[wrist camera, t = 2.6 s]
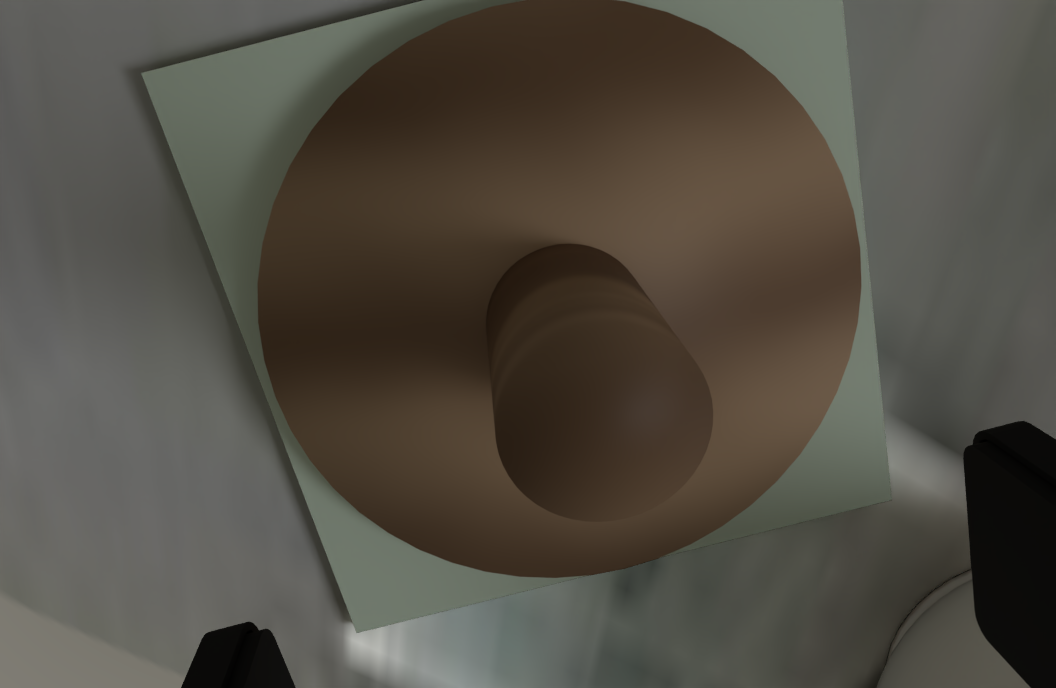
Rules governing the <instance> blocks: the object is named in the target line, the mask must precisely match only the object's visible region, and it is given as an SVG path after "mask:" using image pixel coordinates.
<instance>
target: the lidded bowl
mask: <svg viewBox="0 0 1056 688" xmlns="http://www.w3.org/2000/svg"><path fill="white" fill-rule="evenodd" d="M877 688H1030V687H1029V685H1028V684H1027V683H1026V682H1025V681H1024V680H1023V679H1022V678H1021V677H1020V676H1019V675H1018V674H1017V672H1016V671H1015V670H1014V669H1013V668H1012V667H1011V666H1010V665H1009V664H1008V663H1007V662H1006V661H1005V659H1004V658H1003V657H1002V656H1001V655H1000V654H999V653H998V652H997V651H996V650H995V649H994V648H993V647H992V645H991V644H990V643H989V642H988V641H987V640H986V638H985V637H984V635H983V633H982V632H981V630H980V628H979V625H978V623H977V620H976V616H975V610H974V596H973V582H972V570H969V571H966V572H964V573H962V574H960V575H958V576H956V577H954V578H952V579H950V580H948V581H947V582H945V583H944V584H942V585H941V586H939V587H938V588H937V589H935V590H934V591H932V592H931V593H930V594H929V595H928V596H927V597H925V598H924V599H923V600H922V601H921V602H920V603H919V604H918V605H917V606H916V607H915V608H914V609H913V610H912V612H911V613H910V614H909V615H908V616H907V618H906V619H905V621H904V622H903V623H902V625H901V626H900V628H899V629H898V631H897V633H896V636H895V638H894V640H893V642H892V644H891V647H890V651H889V654H888V657H887V664H886V666H885V668H884V670H883V672H882V675H881V677H880V679H879V682H878V685H877Z"/></svg>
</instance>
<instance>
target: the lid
mask: <svg viewBox="0 0 1056 688" xmlns="http://www.w3.org/2000/svg"><path fill="white" fill-rule="evenodd" d="M257 284H258V324H259V331H260V337H261V344H262V350H263V356H264V361H265V365H266V368H267V371H268V375H269V378H270V381H271V384H272V388H273V391H274V394H275V397H276V399H277V401H278V404H279V406H280V408H281V410H282V412H283V414H284V417H285V419H286V421H287V423H288V425H289V427H290V430H291V431H292V433H293V434H294V436H295V438H296V439H297V441H298V442H299V444H300V445H301V447H302V449H303V450H304V452H305V453H306V455H307V456H308V458H309V460H310V461H311V462H312V463H313V465H314V466H315V467H316V468H317V469H318V471H319V472H320V473H321V474H322V475H323V477H324V478H325V479H326V480H327V481H328V483H329V484H330V485H331V486H332V487H333V488H334V489H335V490H336V491H337V492H338V493H339V494H340V495H341V496H342V497H343V498H344V499H346V500H347V501H348V502H349V503H350V504H351V505H352V506H353V507H354V508H355V509H356V510H357V511H358V512H360V513H361V514H362V515H364V516H365V517H367V518H368V519H369V520H371V521H372V522H374V523H375V524H376V525H378V526H379V527H381V528H382V529H383V530H385V531H386V532H388V533H389V534H391V535H393V536H395V537H397V538H398V539H400V540H402V541H404V542H406V543H408V544H410V545H411V546H413V547H415V548H417V549H419V550H421V551H424V552H426V553H429V554H431V555H434V556H436V557H439V558H441V559H444V560H446V561H449V562H451V563H455V564H459V565H462V566H466V567H470V568H474V569H477V570H481V571H485V572H491V573H498V574H504V575H511V576H518V577H540V578H562V577H574V576H587V575H594V574H599V573H605V572H610V571H615V570H620V569H625V568H629V567H632V566H635V565H638V564H642V563H645V562H648V561H651V560H655V559H658V558H660V557H663V556H665V555H667V554H670V553H672V552H674V551H676V550H679V549H681V548H683V547H686V546H688V545H690V544H692V543H694V542H696V541H697V540H699V539H701V538H703V537H704V536H706V535H708V534H710V533H711V532H713V531H715V530H717V529H718V528H720V527H722V526H723V525H725V524H726V523H727V522H729V521H730V520H731V519H733V518H734V517H736V516H737V515H738V514H740V513H741V512H742V511H744V510H745V509H747V508H748V507H749V506H751V505H752V504H753V503H754V502H755V501H756V500H757V499H758V498H759V497H760V496H761V495H763V494H764V493H765V492H766V491H767V490H768V489H769V488H770V487H771V486H772V485H773V484H775V483H776V482H777V481H778V479H779V478H780V477H781V476H782V475H783V474H784V473H785V471H786V470H787V469H788V468H789V467H790V466H791V464H792V463H793V462H794V461H795V460H796V459H797V458H798V456H799V455H800V454H801V452H802V451H803V449H804V448H805V447H806V445H807V444H808V442H809V441H810V439H811V438H812V436H813V435H814V433H815V432H816V430H817V429H818V427H819V426H820V424H821V422H822V420H823V419H824V417H825V415H826V413H827V411H828V409H829V407H830V405H831V403H832V401H833V399H834V397H835V395H836V393H837V391H838V388H839V386H840V383H841V380H842V377H843V375H844V372H845V369H846V367H847V364H848V361H849V359H850V354H851V350H852V346H853V341H854V337H855V333H856V329H857V324H858V316H859V306H860V296H861V256H860V244H859V238H858V232H857V227H856V221H855V215H854V210H853V207H852V204H851V201H850V198H849V194H848V191H847V188H846V185H845V182H844V179H843V176H842V173H841V171H840V169H839V167H838V165H837V163H836V161H835V159H834V157H833V155H832V153H831V150H830V148H829V146H828V144H827V142H826V140H825V138H824V137H823V135H822V134H821V132H820V131H819V130H818V128H817V127H816V125H815V124H814V122H813V121H812V119H811V118H810V116H809V115H808V113H807V112H806V110H805V109H804V107H803V106H802V105H801V104H800V103H799V102H798V100H797V99H796V98H795V97H794V96H793V95H792V94H791V93H790V92H789V91H788V90H787V88H786V87H785V86H784V85H783V84H782V83H781V82H780V81H779V80H778V79H777V78H776V76H774V75H773V74H772V73H771V72H770V71H768V70H767V69H766V68H765V67H763V66H762V65H761V64H760V63H758V62H757V61H756V60H755V59H754V58H752V57H751V56H750V55H749V54H747V53H746V52H745V51H744V50H742V49H741V48H739V47H737V46H736V45H734V44H732V43H731V42H729V41H727V40H726V39H724V38H722V37H720V36H719V35H717V34H715V33H714V32H712V31H710V30H709V29H707V28H705V27H702V26H700V25H697V24H695V23H693V22H690V21H688V20H685V19H683V18H681V17H678V16H676V15H673V14H671V13H668V12H665V11H661V10H657V9H653V8H649V7H646V6H642V5H638V4H634V3H630V2H626V1H618V0H525V1H519V2H514V3H508V4H503V5H497V6H492V7H489V8H486V9H483V10H480V11H477V12H474V13H471V14H468V15H465V16H462V17H459V18H456V19H453V20H450V21H447V22H445V23H443V24H441V25H439V26H437V27H435V28H433V29H431V30H429V31H427V32H425V33H423V34H421V35H419V36H417V37H415V38H413V39H411V40H409V41H408V42H406V43H405V44H403V45H402V46H400V47H399V48H397V49H396V50H395V51H393V52H392V53H390V54H389V55H387V56H386V57H384V58H383V59H381V60H380V61H379V62H377V63H376V64H374V65H373V66H371V67H370V68H369V69H368V70H367V71H366V72H365V73H364V74H363V75H362V76H360V77H359V78H358V79H357V80H356V81H355V82H354V83H353V84H352V85H351V86H350V87H348V88H347V89H346V90H345V91H344V92H343V93H342V94H341V95H340V96H339V97H338V98H337V99H336V101H335V102H334V103H333V104H332V105H331V107H330V108H329V109H328V110H327V112H326V113H325V114H324V115H323V116H322V118H321V119H320V120H319V121H318V122H317V124H316V125H315V126H314V127H313V129H312V130H311V132H310V133H309V135H308V136H307V138H306V140H305V141H304V143H303V145H302V146H301V148H300V150H299V151H298V153H297V154H296V156H295V158H294V159H293V161H292V163H291V164H290V166H289V168H288V171H287V173H286V175H285V178H284V180H283V182H282V185H281V187H280V189H279V192H278V194H277V196H276V199H275V201H274V203H273V206H272V210H271V214H270V217H269V221H268V225H267V229H266V232H265V236H264V240H263V243H262V251H261V259H260V267H259V275H258V283H257Z"/></svg>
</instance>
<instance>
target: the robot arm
mask: <svg viewBox="0 0 1056 688" xmlns="http://www.w3.org/2000/svg"><path fill="white" fill-rule="evenodd" d="M963 459H964V473H965V487H966V500H967V514H968V528H969V541H970V555H971V569H972V582H973V596H974V610H975V616H976V620H977V623H978V625H979V628H980V630H981V632H982V633H983V635H984V637H985V638H986V640H987V641H988V642H989V643H990V644H991V645H992V647H993V648H994V649H995V650H996V651H997V652H998V653H999V654H1000V655H1001V656H1002V657H1003V658H1004V659H1005V661H1006V662H1007V663H1008V664H1009V665H1010V666H1011V667H1012V668H1013V669H1014V670H1015V671H1016V672H1017V674H1018V675H1019V676H1020V677H1021V678H1022V679H1023V680H1024V681H1025V682H1026V683H1027V684H1028V685H1029V687H1030V688H1056V439H1054V438H1052V437H1051V436H1049V435H1048V434H1046V433H1044V432H1043V431H1041V430H1040V429H1038V428H1036V427H1035V426H1033V425H1032V424H1030V423H1027V422H1025V421H1018V422H1014V423H1010V424H1006V425H1003V426H999V427H995V428H991V429H987V430H983V431H980V432H978V433H977V434H976V435H975V437H974V440H973V445H970V446H968V447H966V448H965V451H964V458H963ZM181 688H295V685H294V683H293V680H292V678H291V676H290V673H289V671H288V668H287V666H286V664H285V661H284V659H283V657H282V654H281V652H280V649H279V647H278V645H277V642H276V640H275V638H274V636H273V634H272V632H271V631H270V630H269V629H263V630H260V631H259V630H258V628H257V627H256V626H255V625H254V623H252V622H245V623H242V624H238V625H234V626H230V627H226V628H222V629H219V630H215V631H211V632H208V633H206V634H205V635H204V637H203V638H202V640H201V642H200V645H199V647H198V649H197V652H196V654H195V656H194V659H193V661H192V663H191V666H190V668H189V670H188V673H187V675H186V677H185V680H184V682H183V684H182V687H181Z"/></svg>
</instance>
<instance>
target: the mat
mask: <svg viewBox="0 0 1056 688" xmlns="http://www.w3.org/2000/svg"><path fill="white" fill-rule="evenodd" d="M519 1H525V0H423V1H419V2H415V3H411V4H407V5H403V6H399V7H396V8H392V9H388V10H384V11H380V12H376V13H372V14H368V15H364V16H361V17H357V18H353V19H349V20H345V21H341V22H337V23H333V24H330V25H326V26H322V27H318V28H314V29H310V30H306V31H302V32H298V33H295V34H291V35H287V36H283V37H279V38H275V39H271V40H267V41H264V42H260V43H256V44H252V45H248V46H244V47H240V48H236V49H232V50H229V51H225V52H221V53H217V54H213V55H209V56H205V57H201V58H198V59H194V60H190V61H186V62H182V63H178V64H174V65H170V66H166V67H163V68H159V69H155V70H151V71H147V72H143V73H141V74H142V77H143V80H144V82H145V85H146V87H147V90H148V92H149V95H150V98H151V100H152V103H153V105H154V108H155V111H156V113H157V116H158V118H159V121H160V124H161V126H162V129H163V131H164V134H165V137H166V139H167V142H168V144H169V147H170V150H171V152H172V155H173V157H174V160H175V163H176V165H177V168H178V170H179V173H180V176H181V178H182V181H183V183H184V186H185V189H186V191H187V194H188V196H189V199H190V202H191V204H192V207H193V209H194V212H195V215H196V217H197V220H198V222H199V225H200V227H201V230H202V233H203V235H204V238H205V240H206V243H207V246H208V248H209V251H210V253H211V256H212V259H213V261H214V264H215V266H216V269H217V272H218V274H219V277H220V279H221V282H222V285H223V287H224V290H225V292H226V295H227V298H228V300H229V303H230V305H231V308H232V311H233V313H234V316H235V318H236V321H237V324H238V326H239V329H240V331H241V334H242V337H243V339H244V342H245V344H246V347H247V350H248V352H249V355H250V357H251V360H252V362H253V365H254V368H255V370H256V373H257V375H258V378H259V381H260V383H261V386H262V388H263V391H264V394H265V396H266V399H267V401H268V404H269V407H270V409H271V412H272V414H273V417H274V420H275V422H276V425H277V427H278V430H279V433H280V435H281V438H282V440H283V443H284V446H285V448H286V451H287V453H288V456H289V459H290V461H291V464H292V466H293V469H294V472H295V474H296V477H297V479H298V482H299V485H300V487H301V490H302V492H303V495H304V497H305V500H306V503H307V505H308V508H309V510H310V513H311V516H312V518H313V521H314V523H315V526H316V529H317V531H318V534H319V536H320V539H321V542H322V544H323V547H324V549H325V552H326V555H327V557H328V560H329V562H330V565H331V568H332V570H333V573H334V575H335V578H336V581H337V583H338V586H339V588H340V591H341V594H342V596H343V599H344V601H345V604H346V607H347V609H348V612H349V614H350V617H351V620H352V622H353V625H354V627H355V630H356V632H357V633H359V632H363V631H367V630H371V629H375V628H379V627H383V626H387V625H391V624H395V623H399V622H403V621H407V620H411V619H415V618H419V617H423V616H427V615H431V614H435V613H439V612H443V611H447V610H451V609H455V608H459V607H464V606H468V605H472V604H476V603H480V602H484V601H488V600H492V599H496V598H500V597H504V596H508V595H512V594H516V593H520V592H524V591H528V590H532V589H536V588H540V587H544V586H548V585H552V584H556V583H560V582H564V581H568V580H572V579H576V578H580V577H584V576H574V577H562V578H540V577H518V576H511V575H504V574H498V573H491V572H485V571H481V570H477V569H474V568H470V567H466V566H462V565H459V564H455V563H451V562H449V561H446V560H444V559H441V558H439V557H436V556H434V555H431V554H429V553H426V552H424V551H421V550H419V549H417V548H415V547H413V546H411V545H410V544H408V543H406V542H404V541H402V540H400V539H398V538H397V537H395V536H393V535H391V534H389V533H388V532H386V531H385V530H383V529H382V528H381V527H379V526H378V525H376V524H375V523H374V522H372V521H371V520H369V519H368V518H367V517H365V516H364V515H362V514H361V513H360V512H358V511H357V510H356V509H355V508H354V507H353V506H352V505H351V504H350V503H349V502H348V501H347V500H346V499H344V498H343V497H342V496H341V495H340V494H339V493H338V492H337V491H336V490H335V489H334V488H333V487H332V486H331V485H330V484H329V483H328V481H327V480H326V479H325V478H324V477H323V475H322V474H321V473H320V472H319V471H318V469H317V468H316V467H315V466H314V465H313V463H312V462H311V461H310V460H309V458H308V456H307V455H306V453H305V452H304V450H303V449H302V447H301V445H300V444H299V442H298V441H297V439H296V438H295V436H294V434H293V433H292V431H291V430H290V427H289V425H288V423H287V421H286V419H285V417H284V414H283V412H282V410H281V408H280V406H279V404H278V401H277V399H276V397H275V394H274V391H273V388H272V384H271V381H270V378H269V375H268V371H267V368H266V365H265V361H264V356H263V350H262V344H261V337H260V331H259V324H258V284H257V283H258V275H259V267H260V259H261V251H262V243H263V240H264V236H265V232H266V229H267V225H268V221H269V217H270V214H271V210H272V206H273V203H274V201H275V199H276V196H277V194H278V192H279V189H280V187H281V185H282V182H283V180H284V178H285V175H286V173H287V171H288V168H289V166H290V164H291V163H292V161H293V159H294V158H295V156H296V154H297V153H298V151H299V150H300V148H301V146H302V145H303V143H304V141H305V140H306V138H307V136H308V135H309V133H310V132H311V130H312V129H313V127H314V126H315V125H316V124H317V122H318V121H319V120H320V119H321V118H322V116H323V115H324V114H325V113H326V112H327V110H328V109H329V108H330V107H331V105H332V104H333V103H334V102H335V101H336V99H337V98H338V97H339V96H340V95H341V94H342V93H343V92H344V91H345V90H346V89H347V88H348V87H350V86H351V85H352V84H353V83H354V82H355V81H356V80H357V79H358V78H359V77H360V76H362V75H363V74H364V73H365V72H366V71H367V70H368V69H369V68H370V67H371V66H373V65H374V64H376V63H377V62H379V61H380V60H381V59H383V58H384V57H386V56H387V55H389V54H390V53H392V52H393V51H395V50H396V49H397V48H399V47H400V46H402V45H403V44H405V43H406V42H408V41H409V40H411V39H413V38H415V37H417V36H419V35H421V34H423V33H425V32H427V31H429V30H431V29H433V28H435V27H437V26H439V25H441V24H443V23H445V22H447V21H450V20H453V19H456V18H459V17H462V16H465V15H468V14H471V13H474V12H477V11H480V10H483V9H486V8H489V7H492V6H497V5H503V4H508V3H514V2H519ZM618 1H626V2H630V3H634V4H638V5H642V6H646V7H649V8H653V9H657V10H661V11H665V12H668V13H671V14H673V15H676V16H678V17H681V18H683V19H685V20H688V21H690V22H693V23H695V24H697V25H700V26H702V27H705V28H707V29H709V30H710V31H712V32H714V33H715V34H717V35H719V36H720V37H722V38H724V39H726V40H727V41H729V42H731V43H732V44H734V45H736V46H737V47H739V48H741V49H742V50H744V51H745V52H746V53H747V54H749V55H750V56H751V57H752V58H754V59H755V60H756V61H757V62H758V63H760V64H761V65H762V66H763V67H765V68H766V69H767V70H768V71H770V72H771V73H772V74H773V75H774V76H776V78H777V79H778V80H779V81H780V82H781V83H782V84H783V85H784V86H785V87H786V88H787V90H788V91H789V92H790V93H791V94H792V95H793V96H794V97H795V98H796V99H797V100H798V102H799V103H800V104H801V105H802V106H803V107H804V109H805V110H806V112H807V113H808V115H809V116H810V118H811V119H812V121H813V122H814V124H815V125H816V127H817V128H818V130H819V131H820V132H821V134H822V135H823V137H824V138H825V140H826V142H827V144H828V146H829V148H830V150H831V153H832V155H833V157H834V159H835V161H836V163H837V165H838V167H839V169H840V171H841V173H842V176H843V179H844V182H845V185H846V188H847V191H848V194H849V198H850V201H851V204H852V207H853V210H854V215H855V221H856V227H857V232H858V238H859V244H860V256H861V296H860V306H859V316H858V324H857V329H856V333H855V337H854V341H853V346H852V350H851V354H850V359H849V361H848V364H847V367H846V369H845V372H844V375H843V377H842V380H841V383H840V386H839V388H838V391H837V393H836V395H835V397H834V399H833V401H832V403H831V405H830V407H829V409H828V411H827V413H826V415H825V417H824V419H823V420H822V422H821V424H820V426H819V427H818V429H817V430H816V432H815V433H814V435H813V436H812V438H811V439H810V441H809V442H808V444H807V445H806V447H805V448H804V449H803V451H802V452H801V454H800V455H799V456H798V458H797V459H796V460H795V461H794V462H793V463H792V464H791V466H790V467H789V468H788V469H787V470H786V471H785V473H784V474H783V475H782V476H781V477H780V478H779V479H778V481H777V482H776V483H775V484H773V485H772V486H771V487H770V488H769V489H768V490H767V491H766V492H765V493H764V494H763V495H761V496H760V497H759V498H758V499H757V500H756V501H755V502H754V503H753V504H752V505H751V506H749V507H748V508H747V509H745V510H744V511H742V512H741V513H740V514H738V515H737V516H736V517H734V518H733V519H731V520H730V521H729V522H727V523H726V524H725V525H723V526H722V527H720V528H718V529H717V530H715V531H713V532H711V533H710V534H708V535H706V536H704V537H703V538H701V539H699V540H697V541H696V542H694V543H692V544H690V545H688V546H686V547H683V548H681V549H679V550H676V551H674V552H672V553H670V554H667V555H665V556H669V555H673V554H677V553H681V552H685V551H689V550H693V549H697V548H701V547H705V546H709V545H713V544H717V543H721V542H725V541H729V540H733V539H737V538H741V537H745V536H749V535H753V534H757V533H761V532H765V531H769V530H773V529H777V528H781V527H786V526H790V525H794V524H798V523H802V522H806V521H810V520H814V519H818V518H822V517H826V516H830V515H834V514H838V513H842V512H846V511H850V510H854V509H858V508H862V507H866V506H870V505H874V504H878V503H882V502H886V501H890V500H892V497H891V487H890V477H889V467H888V457H887V447H886V436H885V426H884V416H883V406H882V396H881V386H880V376H879V365H878V355H877V345H876V335H875V325H874V315H873V305H872V294H871V284H870V274H869V264H868V254H867V244H866V234H865V223H864V213H863V203H862V193H861V183H860V173H859V163H858V152H857V142H856V132H855V122H854V112H853V102H852V92H851V81H850V71H849V61H848V51H847V41H846V31H845V21H844V10H843V0H618ZM665 556H663V557H665ZM660 558H661V557H660ZM587 576H588V575H587Z"/></svg>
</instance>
